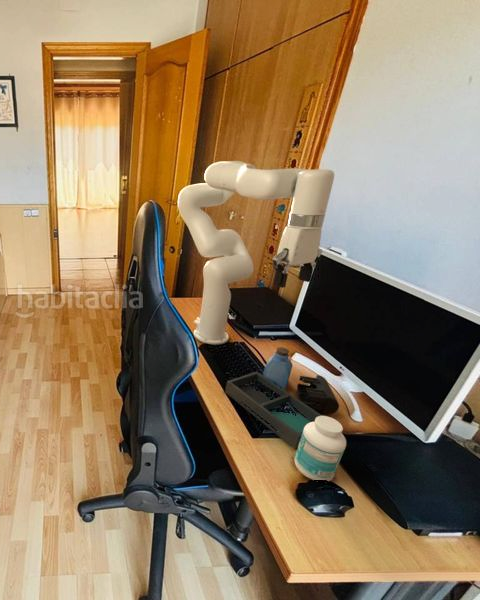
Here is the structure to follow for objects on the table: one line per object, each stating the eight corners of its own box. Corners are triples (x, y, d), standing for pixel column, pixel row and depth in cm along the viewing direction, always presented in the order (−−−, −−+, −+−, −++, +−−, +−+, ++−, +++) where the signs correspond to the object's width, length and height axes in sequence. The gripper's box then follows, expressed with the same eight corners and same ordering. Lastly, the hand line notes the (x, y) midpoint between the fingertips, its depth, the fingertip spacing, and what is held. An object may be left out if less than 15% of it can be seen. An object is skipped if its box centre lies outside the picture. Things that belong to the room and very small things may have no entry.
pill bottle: (305, 450, 78) (321, 406, 72) (340, 474, 72) (359, 428, 66) (286, 463, 75) (300, 418, 69) (320, 490, 69) (338, 443, 63)
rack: (225, 392, 97) (227, 381, 96) (254, 382, 101) (256, 371, 100) (294, 449, 78) (298, 436, 77) (327, 434, 82) (332, 422, 80)
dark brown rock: (335, 419, 86) (342, 399, 84) (304, 413, 89) (310, 394, 86) (323, 395, 95) (329, 376, 92) (295, 390, 97) (300, 371, 94)
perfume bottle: (287, 382, 101) (297, 349, 96) (283, 392, 97) (293, 358, 92) (265, 374, 105) (273, 342, 100) (260, 384, 100) (268, 351, 95)
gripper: (314, 216, 90) (300, 274, 97) (268, 222, 85) (257, 284, 91) (343, 219, 84) (326, 282, 90) (295, 226, 78) (281, 293, 85)
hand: (291, 283), depth 91 cm, fingers open, 9 cm apart
